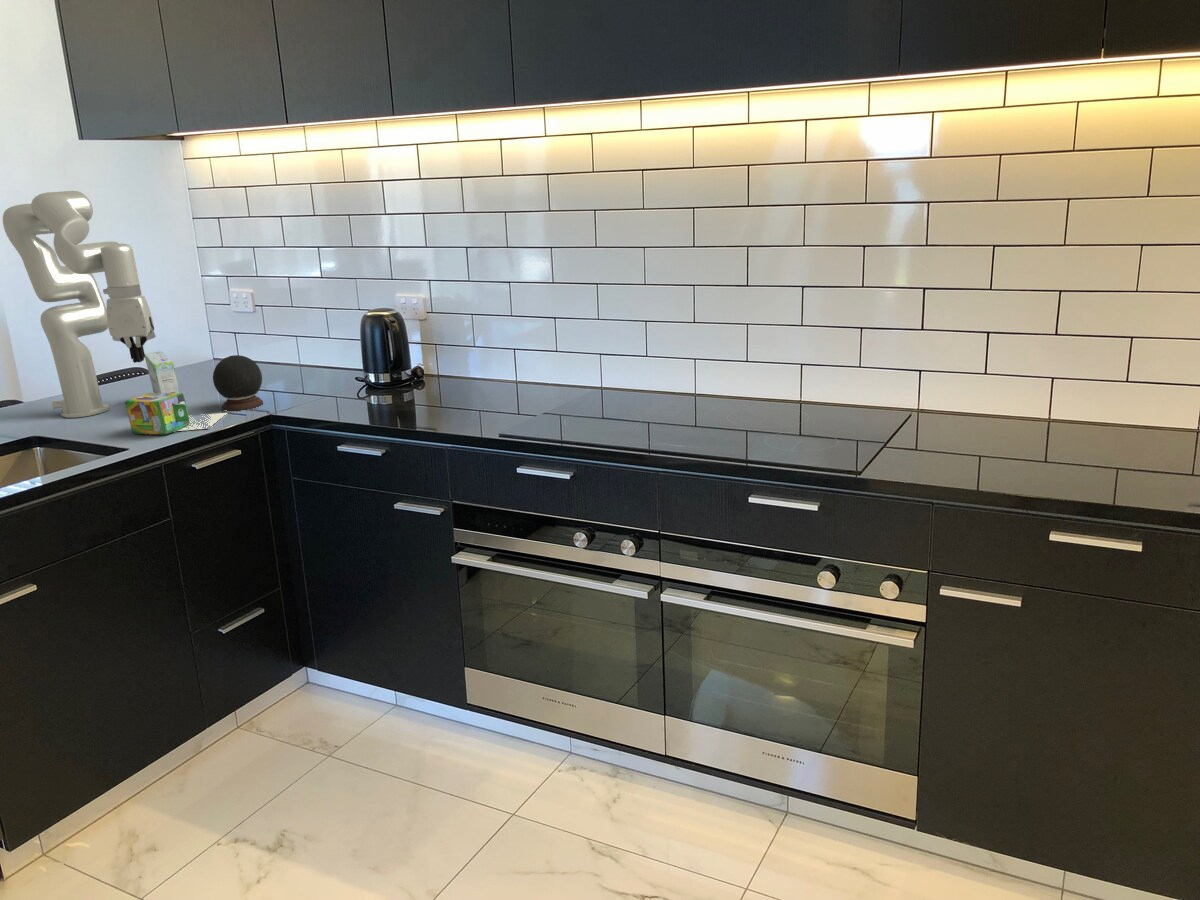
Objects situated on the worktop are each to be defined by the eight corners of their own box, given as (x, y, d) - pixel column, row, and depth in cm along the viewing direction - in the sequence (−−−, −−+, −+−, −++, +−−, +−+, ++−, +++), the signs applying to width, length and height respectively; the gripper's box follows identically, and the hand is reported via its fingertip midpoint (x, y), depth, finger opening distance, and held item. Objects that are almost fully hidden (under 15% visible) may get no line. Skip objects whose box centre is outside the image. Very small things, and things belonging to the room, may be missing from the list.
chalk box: (123, 401, 240) (167, 401, 235) (150, 392, 249) (193, 391, 244) (131, 435, 243) (175, 435, 238) (158, 425, 251) (201, 425, 246)
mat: (146, 434, 243) (146, 433, 243) (169, 418, 258) (169, 417, 258) (208, 429, 244) (208, 428, 243) (227, 414, 259) (227, 412, 259)
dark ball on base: (266, 398, 275) (257, 348, 270) (267, 408, 263) (258, 356, 258) (219, 405, 270) (209, 354, 266) (218, 415, 258) (208, 362, 254)
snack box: (153, 401, 280) (143, 353, 276) (173, 398, 283) (163, 350, 278) (164, 415, 263) (153, 363, 258) (185, 411, 266) (174, 360, 261)
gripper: (89, 296, 235) (104, 366, 241) (148, 293, 236) (162, 363, 242) (101, 291, 243) (116, 359, 248) (159, 288, 243) (172, 356, 249)
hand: (138, 361), depth 245 cm, fingers closed
